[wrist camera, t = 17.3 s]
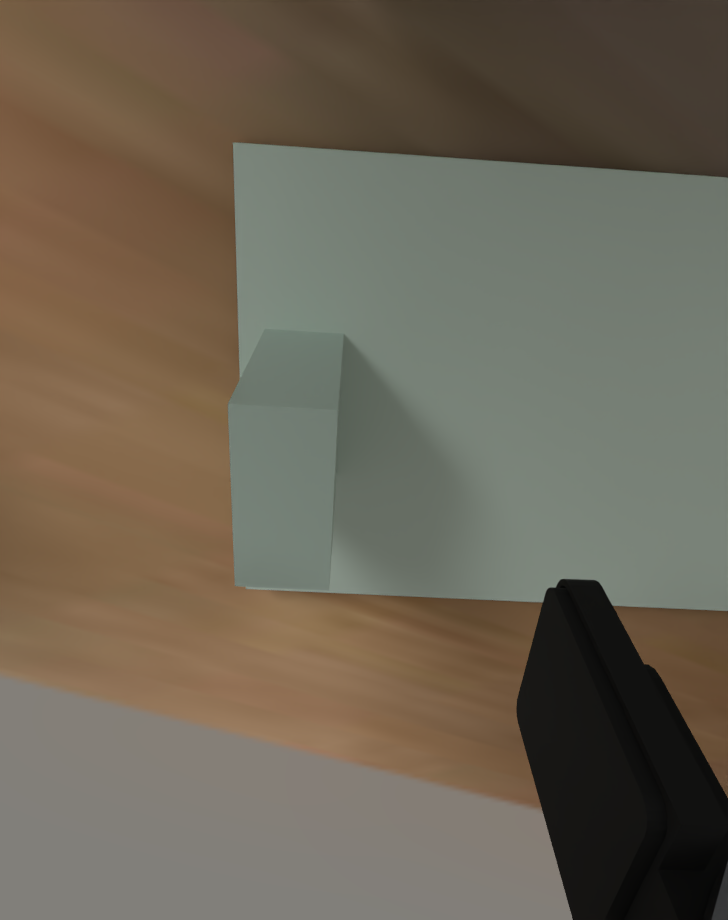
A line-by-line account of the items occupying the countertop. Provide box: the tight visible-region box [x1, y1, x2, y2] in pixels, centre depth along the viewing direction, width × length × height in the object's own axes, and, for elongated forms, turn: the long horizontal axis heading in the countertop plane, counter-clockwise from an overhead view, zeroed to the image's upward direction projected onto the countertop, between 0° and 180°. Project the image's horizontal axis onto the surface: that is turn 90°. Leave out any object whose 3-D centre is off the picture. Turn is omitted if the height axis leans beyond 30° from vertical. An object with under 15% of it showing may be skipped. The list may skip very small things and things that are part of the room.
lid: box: [228, 142, 728, 611], centre depth 18 cm, size 15×22×8 cm
